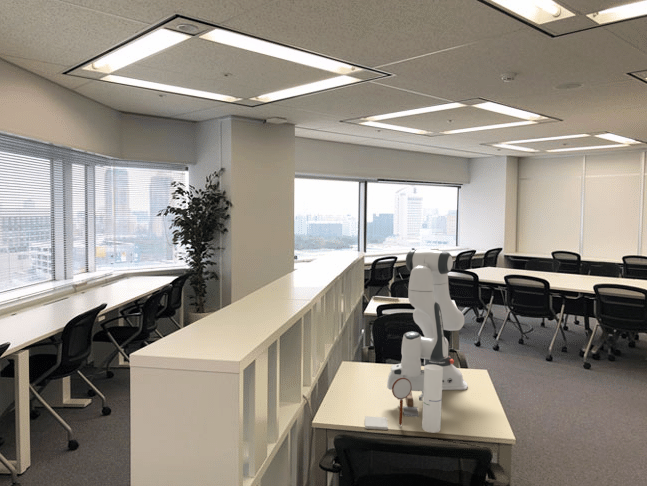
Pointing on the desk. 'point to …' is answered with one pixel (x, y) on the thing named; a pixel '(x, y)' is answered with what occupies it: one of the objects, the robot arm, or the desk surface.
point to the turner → (410, 407)
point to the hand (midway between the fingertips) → (409, 399)
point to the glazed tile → (376, 423)
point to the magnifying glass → (401, 392)
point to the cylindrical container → (432, 398)
